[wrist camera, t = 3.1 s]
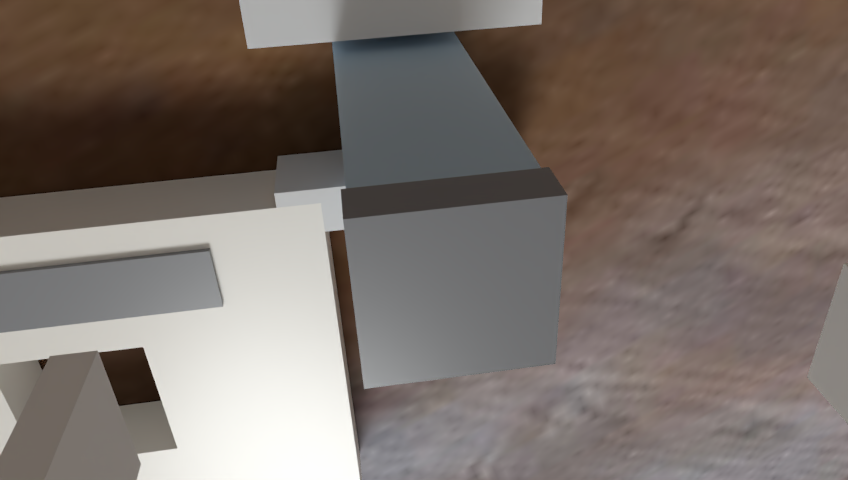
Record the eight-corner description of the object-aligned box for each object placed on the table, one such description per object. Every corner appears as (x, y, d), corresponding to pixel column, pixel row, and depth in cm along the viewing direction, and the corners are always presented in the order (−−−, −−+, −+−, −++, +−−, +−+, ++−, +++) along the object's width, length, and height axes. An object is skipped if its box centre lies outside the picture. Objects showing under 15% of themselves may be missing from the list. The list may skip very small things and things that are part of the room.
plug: (327, 27, 24) (342, 219, 13) (449, 17, 24) (567, 195, 13) (341, 140, 26) (364, 388, 15) (452, 129, 26) (555, 363, 15)
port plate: (-251, 222, 25) (-325, 277, 22) (319, 165, 26) (321, 208, 24) (-62, 512, 33) (-97, 579, 30) (359, 454, 35) (364, 512, 32)
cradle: (245, -31, 22) (237, -10, 20) (518, -51, 23) (543, -34, 21) (284, 196, 27) (281, 236, 24) (513, 172, 28) (533, 208, 25)
